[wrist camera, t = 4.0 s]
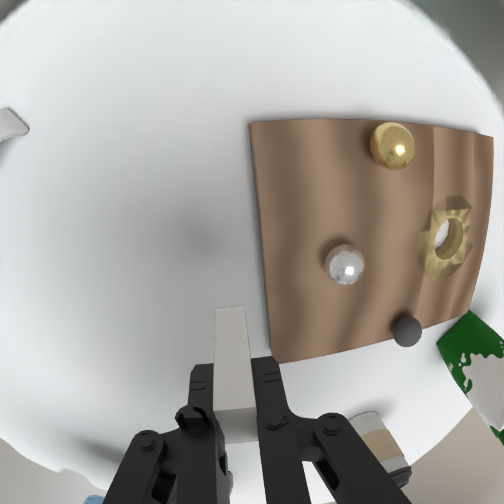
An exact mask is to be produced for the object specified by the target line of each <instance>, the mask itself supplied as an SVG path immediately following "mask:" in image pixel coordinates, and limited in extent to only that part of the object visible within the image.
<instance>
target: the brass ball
mask: <svg viewBox="0 0 504 504" xmlns="http://www.w3.org/2000/svg"><path fill="white" fill-rule="evenodd" d="M370 151H371V154H372V156H373V158H374V159H375V161H376V162H377V163H378V164H379V165H381V166H382V167H384V168H386V169H389V170H401V169H404V168H406V167H407V166H408V165H410V164H411V162H412V161H413V159H414V157H415V154H416V144H415V140H414V138H413V136H412V134H411V133H410V132H409V131H408V130H407V129H406V128H405V127H404V126H402V125H400V124H397V123H384V124H382V125H380V126H378V127H377V128H376V129H375V130H374V131H373V133H372V135H371V137H370Z"/></svg>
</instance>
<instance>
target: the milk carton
mask: <svg viewBox="0 0 504 504" xmlns="http://www.w3.org/2000/svg"><path fill="white" fill-rule="evenodd" d="M437 345H438V348H439V350H440V352H441V354H442V357H443V359H444V361H445V363H446V365H447V367H448V369H449V371H450V373H451V375H452V377H453V378H454V380H455V381H456V383H457V384H458V386H459V387H460V388H461V390H462V391H463V393H464V394H465V395H466V397H467V398H468V399H469V401H470V402H471V404H472V405H473V406H474V407H475V409H476V411H477V412H478V413H479V415H480V416H481V417H482V419H483V420H484V422H485V423H486V424H487V425H488V427H489V428H490V429H491V431H492V432H493V433H494V435H495V436H496V437H497V439H498V438H499V439H500V441H501V442H502V444H503V445H504V340H503V339H502V338H501V337H500V336H499V335H498V334H497V333H496V332H495V331H494V330H493V329H492V328H491V327H489V326H488V325H487V324H486V323H485V322H483V321H482V320H481V319H480V318H478V317H477V316H476V315H475V314H473V313H472V312H471V311H470V310H469V311H468V313H466V314H465V315H464V316H463V317H462V318H461V319H460V320H459V321H458V322H457V323H456V324H455V325H454V326H453V327H452V328H451V329H450V330H449V331H448V332H447V333H446V334H445V335H444V336H443V337H442V338H441V339H440V340H439V341H438V342H437Z"/></svg>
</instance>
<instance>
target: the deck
mask: <svg viewBox="0 0 504 504" xmlns="http://www.w3.org/2000/svg"><path fill="white" fill-rule="evenodd" d="M384 123H397V124H400V125H402V126H404V127H405V128H406V129H407V130H408V131H409V132H410V133H411V134H412V136H413V138H414V140H415V144H416V154H415V157H414V159H413V161H412V162H411V164H410V165H408V166H407V167H406V168H404V169H401V170H389V169H386V168H384V167H382V166H381V165H379V164H378V163H377V162H376V161H375V159H374V158H373V156H372V154H371V151H370V137H371V135H372V133H373V131H374V130H375V129H376V128H377V127H378V126H380V125H382V124H384ZM249 130H250V139H251V149H252V158H253V168H254V178H255V188H256V198H257V208H258V218H259V228H260V238H261V249H262V259H263V270H264V281H265V292H266V303H267V314H268V325H269V337H270V348H271V353H272V356H273V357H274V359H275V360H276V361H277V362H278V364H282V363H288V362H294V361H299V360H305V359H310V358H315V357H320V356H325V355H330V354H334V353H339V352H343V351H347V350H352V349H356V348H360V347H364V346H368V345H371V344H375V343H379V342H383V341H386V340H390V339H393V338H394V336H393V330H394V327H395V325H396V323H397V322H398V321H399V320H400V319H402V318H404V317H414V318H416V319H417V320H418V321H419V322H420V324H421V327H422V329H425V328H428V327H431V326H434V325H437V324H439V323H442V322H445V321H448V320H450V319H453V318H456V317H458V316H461V315H463V314H466V313H468V309H469V306H470V303H471V300H472V296H473V293H474V289H475V286H476V282H477V278H478V274H479V270H480V266H481V261H482V256H483V252H484V246H485V241H486V235H487V229H488V222H489V215H490V206H491V196H492V183H493V155H494V149H493V137H490V136H486V135H481V134H477V133H472V132H467V131H462V130H456V129H450V128H444V127H437V126H430V125H422V124H414V123H404V122H393V121H379V120H360V119H297V120H276V121H262V122H252V123H250V124H249ZM447 219H448V220H449V224H450V225H449V233H448V236H447V238H446V240H445V242H444V244H443V245H442V246H441V247H439V248H438V249H437V250H435V249H434V244H435V236H436V234H437V232H438V230H439V228H440V226H441V225H442V224H443V223H444V222H445V221H446V220H447ZM341 244H349V245H352V246H354V247H356V248H357V249H358V250H359V251H360V252H361V253H362V255H363V257H364V261H365V269H364V272H363V274H362V276H361V278H360V279H359V280H358V281H356V282H355V283H353V284H351V285H339V284H336V283H334V282H333V281H332V280H331V279H330V278H329V277H328V275H327V273H326V271H325V259H326V256H327V254H328V253H329V251H330V250H331V249H333V248H334V247H335V246H338V245H341Z"/></svg>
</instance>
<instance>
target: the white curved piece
mask: <svg viewBox="0 0 504 504" xmlns="http://www.w3.org/2000/svg"><path fill="white" fill-rule="evenodd" d="M27 132H28V127H27V126H26V125H25V124H24V123H23V122H22V121H21V120H20V119H19V118H18V117H17V116H16V115H15V114H14V113H13V112H11V111H10V110H9V109H6V108H5V109H0V142H2V141H4V140H7V139H10V138H14V137H19V136H23V135H25V134H26V133H27Z"/></svg>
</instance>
